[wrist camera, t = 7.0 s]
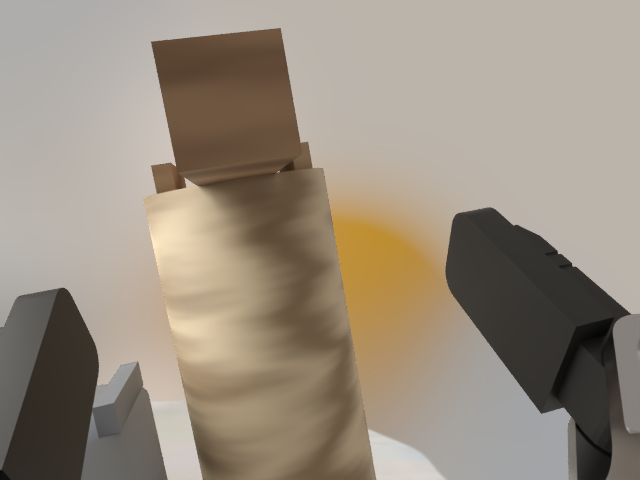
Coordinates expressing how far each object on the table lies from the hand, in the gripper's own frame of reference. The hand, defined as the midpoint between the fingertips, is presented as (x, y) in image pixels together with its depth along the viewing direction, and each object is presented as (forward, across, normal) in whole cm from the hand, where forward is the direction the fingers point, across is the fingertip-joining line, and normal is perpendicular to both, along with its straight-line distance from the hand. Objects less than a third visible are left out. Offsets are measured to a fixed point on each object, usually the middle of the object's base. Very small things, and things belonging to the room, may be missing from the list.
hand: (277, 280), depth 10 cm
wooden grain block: (+16, 0, +6) cm, 17 cm away
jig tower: (+2, 0, +35) cm, 35 cm away
